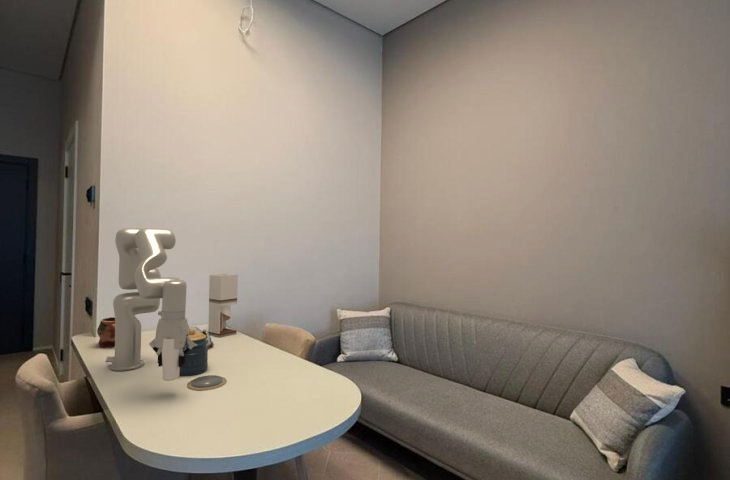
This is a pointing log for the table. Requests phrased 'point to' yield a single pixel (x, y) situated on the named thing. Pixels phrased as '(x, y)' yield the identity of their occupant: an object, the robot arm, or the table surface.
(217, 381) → the round coaster
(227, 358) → the table surface
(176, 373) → the drinking glass
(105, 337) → the decorative planter
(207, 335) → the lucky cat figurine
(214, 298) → the notched white tower
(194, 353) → the canister
